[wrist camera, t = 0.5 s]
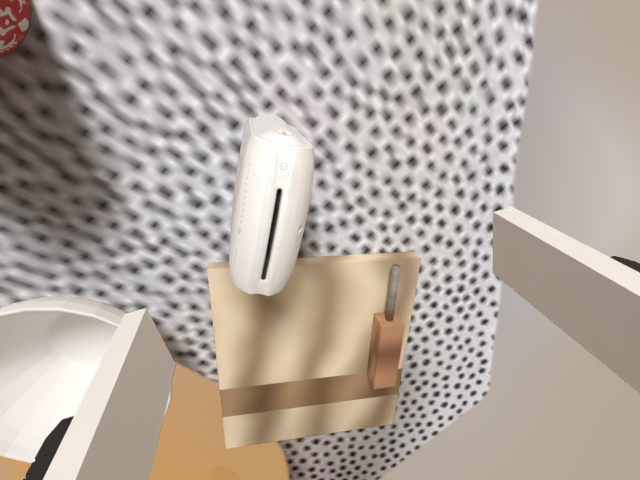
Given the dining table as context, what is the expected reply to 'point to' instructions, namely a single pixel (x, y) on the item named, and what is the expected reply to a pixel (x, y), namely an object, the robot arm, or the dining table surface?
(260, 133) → the photo printer
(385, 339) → the awl
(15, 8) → the mug
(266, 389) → the light wooden cutting board
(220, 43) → the dining table surface
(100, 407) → the robot arm
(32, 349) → the bowl
